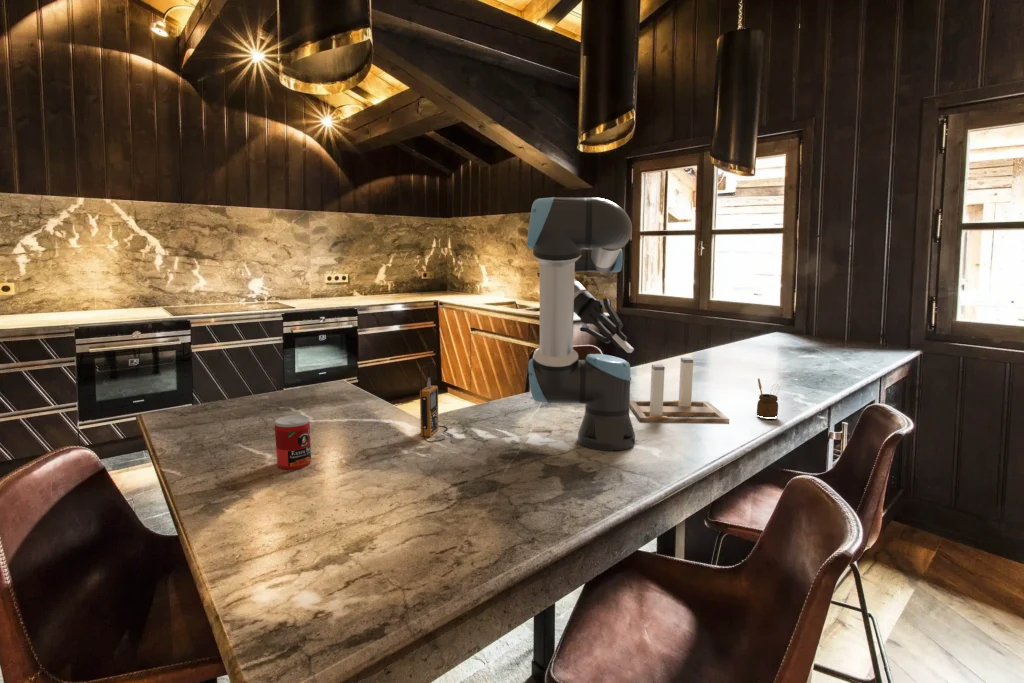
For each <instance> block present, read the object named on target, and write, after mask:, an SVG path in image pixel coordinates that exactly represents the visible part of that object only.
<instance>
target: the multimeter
mask: <svg viewBox="0 0 1024 683" xmlns="http://www.w3.org/2000/svg"><path fill="white" fill-rule="evenodd" d="M429 364H431V365H432V366H433V375H435V365H434V362H427V366H425V365H423V366H422V367H421V369H420V383H422V375H423V374H422V373H423V372H422V371H423V368H425V369H426V371H427V383H426V387H424V388H422V384H420V391H419V407H420V409H419V412H420V414H419V415H420V436H421V437H423V439H424V441H425V442H428V443H433V442H439V441H442V440H445V439H447V438H449V437H454V438H456V436H455V435H454V434H452V433H450V432H447V430H448V427H447V426H444V425H442V426H443V427H442V428H446V429H445V430H443V432H444V433H445V434H447V435H449V436H446V437H445V436H443V437H440V438H437V439H434V440H431V441H430V440H427V439H426V438H431V437H432V435H434V434H435V433H436V432H438V431H439V427H440V425H439V387H438V385H436V382H435V380H436V379H433V385H431V370H430V366H429Z"/></svg>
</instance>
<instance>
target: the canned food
mask: <svg viewBox="0 0 1024 683" xmlns="http://www.w3.org/2000/svg"><path fill="white" fill-rule="evenodd" d="M310 425H311V424H310V418H309V417H308V416H306V415H299V414H293V415H292V414H291V415H286V416H281V417H278V418H277V419H275V420H274V436H275V437H274V438H275V451H276V452H275V453H276V463H277V466H278V467H279V468H280V469H283V470H288V471H289V470H298V469H302V468H306V467H308V466H309V465H310V464H311V460H312V448H311V428H310V427H311V426H310Z"/></svg>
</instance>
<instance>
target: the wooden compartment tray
mask: <svg viewBox="0 0 1024 683" xmlns="http://www.w3.org/2000/svg"><path fill="white" fill-rule="evenodd" d="M678 405H679V399H677V400H676V399H674V400H663V414H662V416H650V400H630V405H629V409H630V410H631V411H632V412H633V414H634V415H635V416H636V418H637V419H638V421H639V422H640V423H702V424H703V423H704V424H705V423H709V424H711V423H717V424H722V423H723V424H728V425H730V418H729V417H727V415H726V414H724V413H723V412H722V411H720V409H718V408H717V407H716V406H714V405H713V404H712V403H710V401H705V400H704V401H703V400H702V401H697V400H696V401H693V400H691V407H679V406H678Z"/></svg>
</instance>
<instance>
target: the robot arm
mask: <svg viewBox="0 0 1024 683" xmlns="http://www.w3.org/2000/svg"><path fill="white" fill-rule="evenodd" d="M632 224H633V223H632V220H631V218H630V217H629V214H628V213H627V212H626V211H625V209H623V208H622V207H621V206H619V205H618V204H617V203H615V202H613V201H611V200H609V199H605V198H601V197H595V196H594V197H555V196H552V197H543V198H541V197H540V198H536V199H535V200H534V201H533V203H532V205H531V210H530V216H529V223H528V232H527V237H526V238H527V240H526V247H527V248H528V249H530V250H532V254H533V255H532V256H533V257H534V258H535V259H536V260H537V261H538V263H539V348H538V349H537V350H536V351H534V355H533V358H530V359H529V360H528V365H527V366H528V371H527V372H528V382H529V389H530V393H531V397H532V398H533V400H534V401H535V402H538V403H547V404H582V405H583V404H584V405H585V406H584V407H585V409H584V411H585V412H584V415H583V418H582V421H581V424H580V426H579V429H578V432H577V442H578V443H579V444H580V445H581V446H583V447H585V448H587V449H592V450H593V449H594V450H598V451H607V452H608V451H609V452H610V450H611V451H612V450H617V451H623V450H622V449H625V450H628V449H631V448H632V446H633V445H634V444H636V435H635V431H634V427H633V424H632V420H631V416H630V406H629V405H630V401H631V398H630V396H631V395H630V394H631V381H632V376H631V365H630V363H629V362H628V361H627V360H625V359H623V358H621V357H617V356H613V355H609V354H603V353H588V354H587V355H586V357H585V359H579V353H578V352H577V351H576V350H575V349H574V343H573V342H574V315H575V314H576V315H577V316H578V317H579V319H580V321H581V324H582V325H581V327H580V328H579V331H580V332H584V333H587V334H589V335H590V336H592V337H593V338H596V339H598V340H599V341H600V342H602V343H605V344H610V343H612V344H613V345H614V346H615V347H616V348H621V349H623V350H624V351H625V352H626V353H629V354H631V353H633V352H634V351H635V348H634V347H633V345H632V346H631V344H630V343H628V341H627V340H628V336H627V335H625V334H624V333H623V332H622V328H623V327H624V324H623V322H622V320H621V318H620V317H619V316H618V314H617V312H616V311H615V309H614V308H613V306H612V302H611V300H610V299H608V298H606V297H605V298H603V299H602V300H599V299H597V298H596V297H595V296H594V295H593V294H591V292H590V291H588V289H586V288H585V287H584V286H583V284H582V283H580V282H579V281H578V280H577V279H576V277H575V276H576V275H575V274H576V273H608V274H611V273H619V272H621V271H622V269H623V260H624V259H623V254H624V253H623V248H625V246H626V245H627V244H628V242H629V241H630V239H631V237H632V233H633V225H632ZM604 309H605V310H606V313H607V314H608V315H609V316H610V318H611V319H609V317H607V315H606V314H605V313H604ZM601 321H602V322H603V323H604V324H605V325H606V326H607V327H608V328H607V327H606V326H605V325H603V324H602V322H601ZM612 321H613V322H612ZM588 324H589V325H593V326H595V327H596V328H597V329H598V330H599V331H600V332H601V333H602V334H600V333H599V332H597V331H596V330H594V329H592V328H590V326H589V325H588ZM609 329H610V330H611V331H612V332H611V331H610V330H609ZM613 333H614V334H613ZM634 446H635V445H634ZM634 446H633V447H634ZM630 447H631V448H630ZM627 448H628V449H627Z"/></svg>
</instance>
